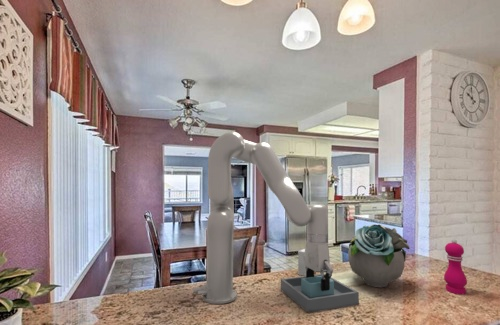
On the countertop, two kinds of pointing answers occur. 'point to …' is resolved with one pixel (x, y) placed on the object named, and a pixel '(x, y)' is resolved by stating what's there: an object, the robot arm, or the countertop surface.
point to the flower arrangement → (377, 255)
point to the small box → (301, 263)
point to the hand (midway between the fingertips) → (317, 285)
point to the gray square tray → (339, 299)
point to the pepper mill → (455, 269)
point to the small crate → (315, 287)
